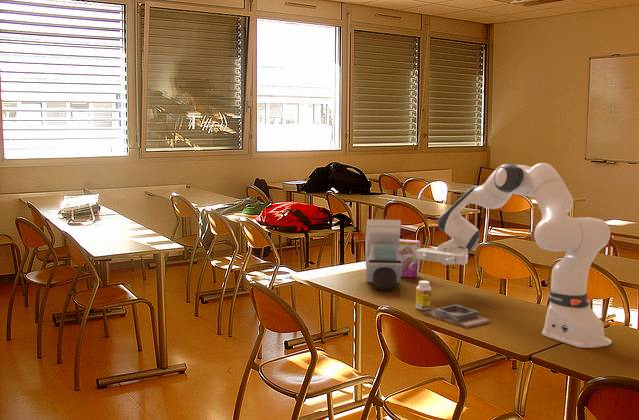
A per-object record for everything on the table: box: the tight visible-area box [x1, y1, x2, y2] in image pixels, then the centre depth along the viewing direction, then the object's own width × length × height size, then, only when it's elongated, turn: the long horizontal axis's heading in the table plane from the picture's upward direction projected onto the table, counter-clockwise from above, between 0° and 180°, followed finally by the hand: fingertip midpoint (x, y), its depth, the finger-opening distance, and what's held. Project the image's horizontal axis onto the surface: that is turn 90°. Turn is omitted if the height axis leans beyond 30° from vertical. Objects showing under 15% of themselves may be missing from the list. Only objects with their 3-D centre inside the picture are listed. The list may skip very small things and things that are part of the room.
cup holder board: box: [423, 304, 491, 329], centre depth 242 cm, size 20×12×3 cm, turn 36°
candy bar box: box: [399, 238, 421, 279], centre depth 306 cm, size 11×5×16 cm, turn 74°
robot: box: [365, 218, 402, 291], centre depth 289 cm, size 14×22×30 cm
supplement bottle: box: [415, 280, 432, 311], centre depth 254 cm, size 6×6×10 cm
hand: (435, 259), depth 263 cm, fingers open, 8 cm apart
